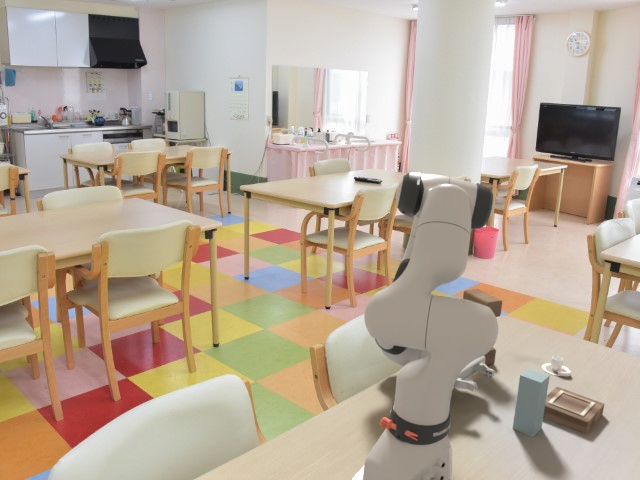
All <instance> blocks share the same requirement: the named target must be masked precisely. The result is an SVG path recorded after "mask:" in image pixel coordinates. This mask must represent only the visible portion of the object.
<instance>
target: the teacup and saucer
mask: <svg viewBox="0 0 640 480" xmlns="http://www.w3.org/2000/svg"><path fill="white" fill-rule="evenodd" d="M550 358H551V359H550V360H551V361H550V362H548V363H547V362H546V363H543V364H542V365H541V369H542V370H543V371H544V372H546V374H548V375H553V376H556V377H557V376H558V377H571V375H572V371H571V370H570V369H569V367H567V366H565V365H563V363H564V358H563V357H562V356H558V355H552V356H551V357H550ZM548 366H550V367H551V368H550V369H551V370H552V371H553V372H554V373H553V372H551V371H549V370H547V367H548ZM555 372H557V373H555Z"/></svg>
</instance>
